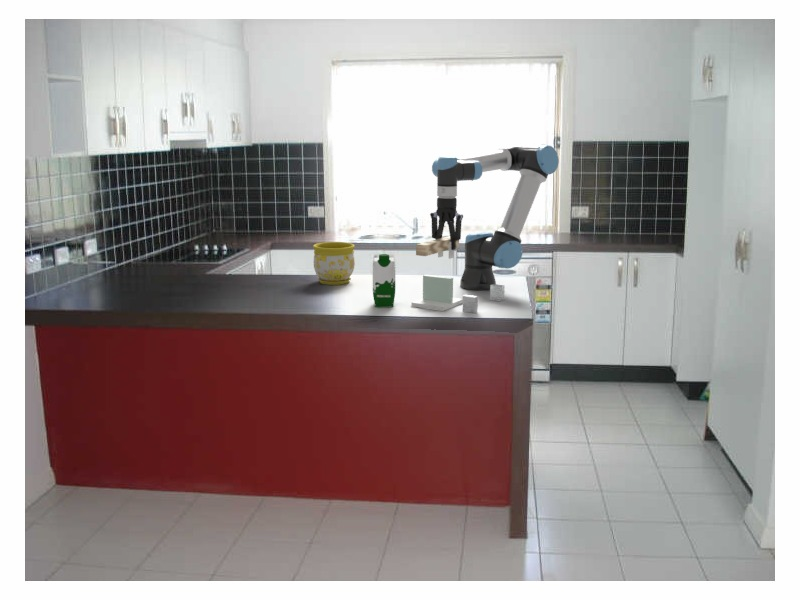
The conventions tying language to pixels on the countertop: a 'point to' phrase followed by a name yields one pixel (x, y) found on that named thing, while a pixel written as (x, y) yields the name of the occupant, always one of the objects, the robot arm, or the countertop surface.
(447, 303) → the ridge stand
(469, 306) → the posts
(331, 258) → the flowerpot
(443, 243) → the batten
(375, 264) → the milk carton
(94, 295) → the countertop surface
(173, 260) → the countertop surface
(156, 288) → the countertop surface
